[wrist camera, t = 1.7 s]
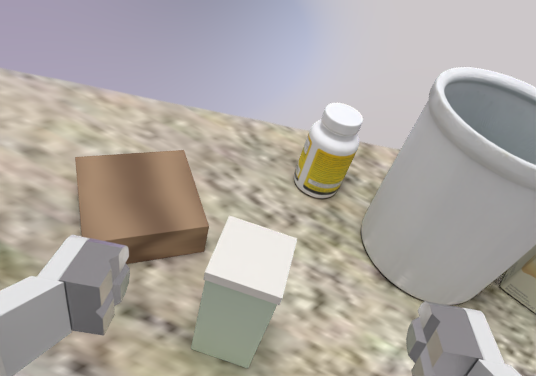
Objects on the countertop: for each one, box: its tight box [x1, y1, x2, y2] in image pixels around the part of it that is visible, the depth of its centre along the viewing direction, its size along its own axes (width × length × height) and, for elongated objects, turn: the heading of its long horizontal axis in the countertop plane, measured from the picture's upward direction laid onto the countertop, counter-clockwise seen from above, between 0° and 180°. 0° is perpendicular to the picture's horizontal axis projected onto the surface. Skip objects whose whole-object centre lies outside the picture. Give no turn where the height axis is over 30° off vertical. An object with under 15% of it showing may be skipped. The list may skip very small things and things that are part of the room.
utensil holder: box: [361, 67, 536, 305], centre depth 39 cm, size 15×15×18 cm
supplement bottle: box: [294, 103, 363, 198], centre depth 45 cm, size 5×5×10 cm
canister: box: [191, 216, 297, 368], centre depth 30 cm, size 5×5×11 cm
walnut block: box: [75, 150, 209, 264], centre depth 39 cm, size 10×10×4 cm
